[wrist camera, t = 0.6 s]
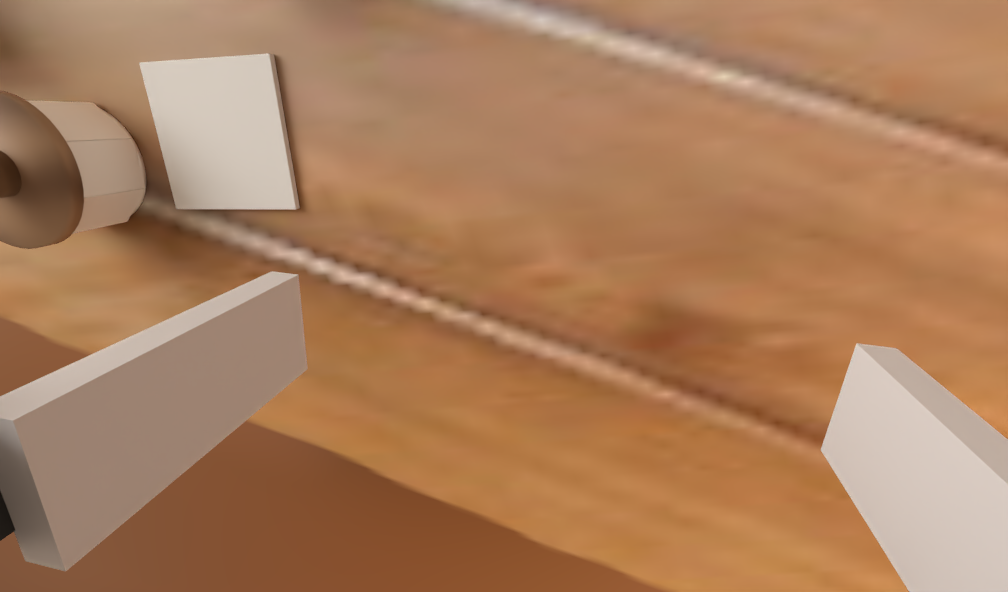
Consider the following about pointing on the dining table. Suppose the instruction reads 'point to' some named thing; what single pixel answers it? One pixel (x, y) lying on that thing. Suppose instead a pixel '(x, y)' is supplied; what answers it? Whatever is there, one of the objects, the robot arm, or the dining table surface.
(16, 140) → the lid
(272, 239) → the dining table surface
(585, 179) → the dining table surface
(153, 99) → the mat
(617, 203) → the dining table surface
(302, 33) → the dining table surface
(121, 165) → the bowl
